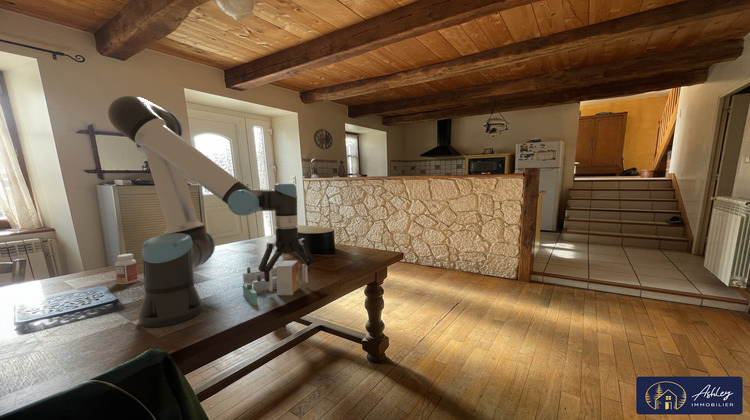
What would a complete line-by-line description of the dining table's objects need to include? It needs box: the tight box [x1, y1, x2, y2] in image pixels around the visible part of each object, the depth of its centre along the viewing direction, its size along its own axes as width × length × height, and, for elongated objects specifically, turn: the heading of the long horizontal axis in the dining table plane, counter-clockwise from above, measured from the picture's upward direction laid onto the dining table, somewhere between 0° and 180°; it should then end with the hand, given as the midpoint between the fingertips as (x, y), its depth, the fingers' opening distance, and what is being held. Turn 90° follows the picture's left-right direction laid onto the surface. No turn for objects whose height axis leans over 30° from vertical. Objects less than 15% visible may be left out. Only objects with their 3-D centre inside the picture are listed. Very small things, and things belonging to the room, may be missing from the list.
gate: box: [242, 283, 258, 306], centre depth 94 cm, size 2×11×5 cm, turn 40°
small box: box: [275, 260, 300, 296], centre depth 101 cm, size 8×6×10 cm
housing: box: [242, 266, 277, 294], centre depth 109 cm, size 13×15×6 cm
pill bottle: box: [115, 253, 138, 286], centre depth 111 cm, size 6×6×11 cm
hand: (288, 285), depth 102 cm, fingers open, 12 cm apart
